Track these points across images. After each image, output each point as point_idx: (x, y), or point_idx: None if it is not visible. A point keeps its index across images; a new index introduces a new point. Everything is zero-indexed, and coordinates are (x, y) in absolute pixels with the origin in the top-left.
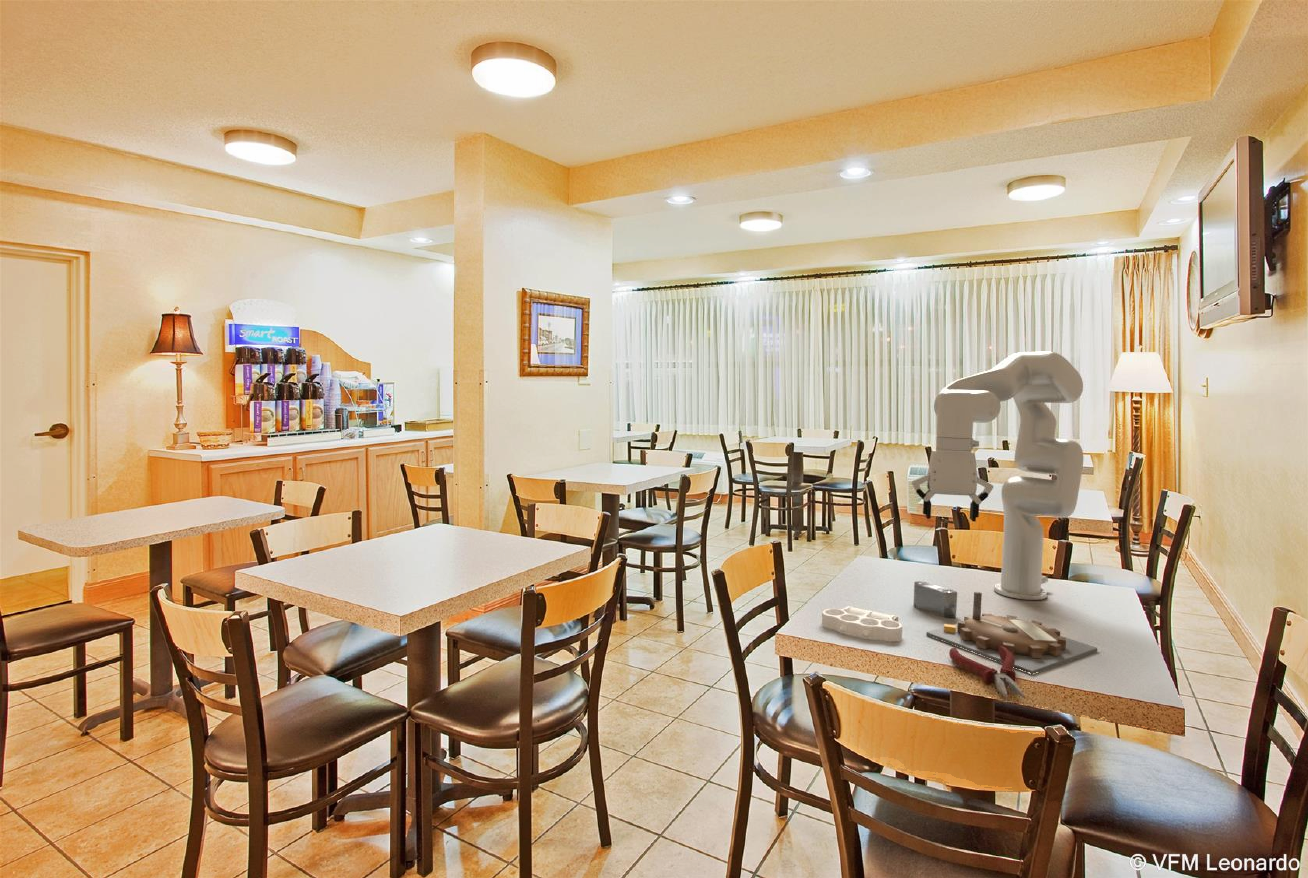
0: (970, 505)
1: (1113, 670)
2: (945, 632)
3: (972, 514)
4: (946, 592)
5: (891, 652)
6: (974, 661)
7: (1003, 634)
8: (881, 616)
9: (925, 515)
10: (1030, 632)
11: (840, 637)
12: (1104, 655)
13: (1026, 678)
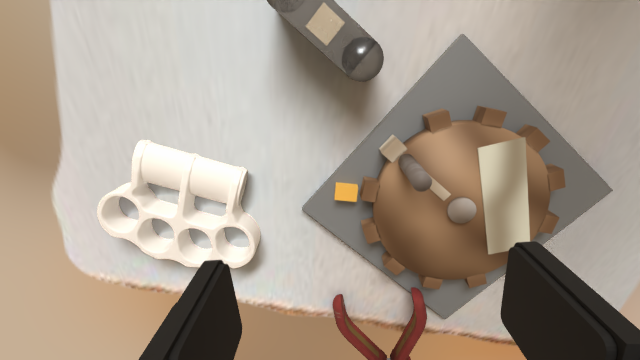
0: (583, 324)
1: (583, 264)
2: (336, 200)
3: (525, 351)
4: (352, 72)
5: (248, 295)
6: (362, 348)
7: (438, 239)
8: (211, 193)
9: (204, 261)
10: (496, 217)
11: (163, 261)
12: (609, 203)
13: (431, 326)
